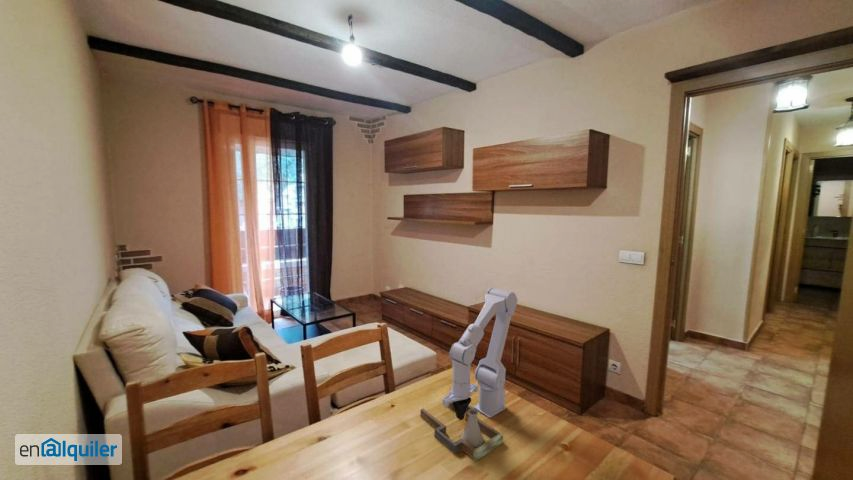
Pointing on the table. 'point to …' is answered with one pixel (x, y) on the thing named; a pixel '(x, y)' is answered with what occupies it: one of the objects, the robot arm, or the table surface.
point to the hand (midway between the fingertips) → (460, 418)
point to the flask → (472, 430)
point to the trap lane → (461, 443)
